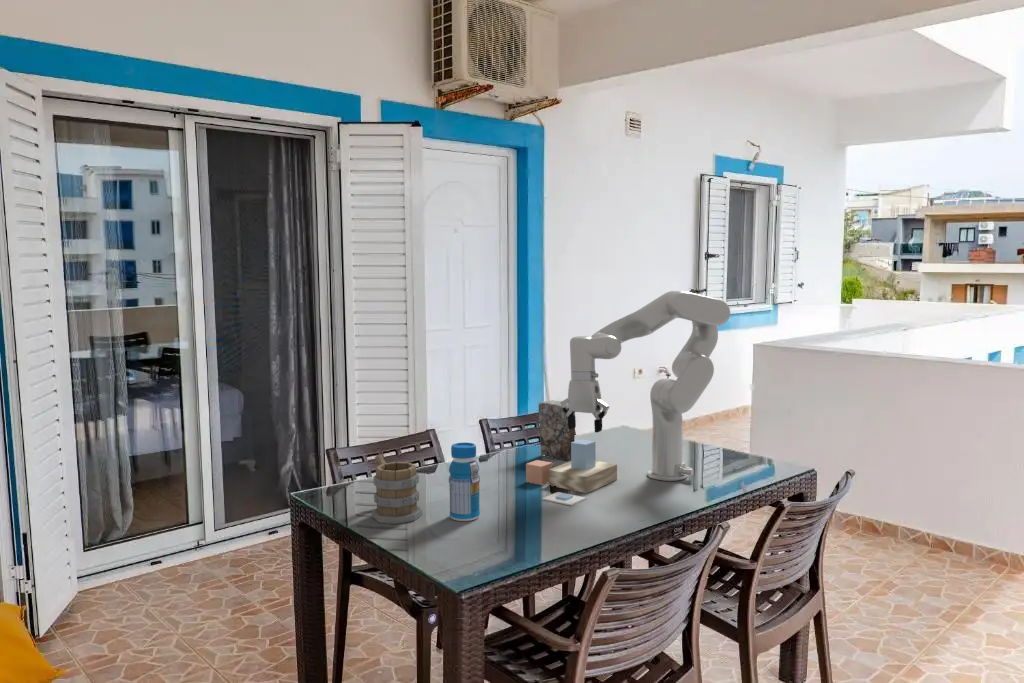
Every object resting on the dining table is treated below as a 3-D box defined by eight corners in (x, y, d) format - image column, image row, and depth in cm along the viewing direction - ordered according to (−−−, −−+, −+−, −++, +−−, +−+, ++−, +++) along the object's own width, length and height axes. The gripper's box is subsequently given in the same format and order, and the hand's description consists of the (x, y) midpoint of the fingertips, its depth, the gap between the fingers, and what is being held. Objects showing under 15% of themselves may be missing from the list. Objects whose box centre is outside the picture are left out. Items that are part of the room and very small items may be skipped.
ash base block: (617, 479, 239) (617, 464, 238) (586, 493, 225) (586, 476, 224) (580, 472, 247) (580, 458, 247) (548, 485, 233) (548, 469, 233)
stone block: (537, 456, 270) (536, 401, 268) (549, 452, 276) (548, 399, 274) (566, 462, 262) (566, 405, 260) (578, 458, 267) (578, 402, 265)
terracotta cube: (552, 481, 238) (552, 462, 238) (541, 485, 234) (541, 466, 233) (537, 478, 242) (537, 459, 242) (526, 482, 237) (525, 463, 237)
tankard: (427, 518, 203) (426, 464, 202) (383, 527, 197) (381, 471, 196) (400, 499, 221) (399, 449, 219) (359, 506, 214) (357, 455, 213)
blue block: (595, 466, 236) (595, 441, 235) (586, 470, 232) (586, 444, 231) (580, 463, 239) (580, 439, 239) (571, 467, 235) (571, 442, 234)
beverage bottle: (452, 523, 199) (451, 449, 197) (446, 513, 207) (445, 442, 205) (483, 520, 201) (482, 447, 199) (476, 510, 209) (475, 440, 207)
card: (586, 498, 219) (586, 495, 219) (570, 505, 213) (570, 502, 213) (557, 493, 225) (557, 489, 225) (542, 499, 219) (542, 496, 219)
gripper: (613, 375, 230) (615, 430, 232) (566, 372, 241) (568, 425, 243) (600, 379, 225) (602, 435, 226) (553, 376, 235) (555, 429, 237)
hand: (585, 430), depth 235 cm, fingers open, 9 cm apart
